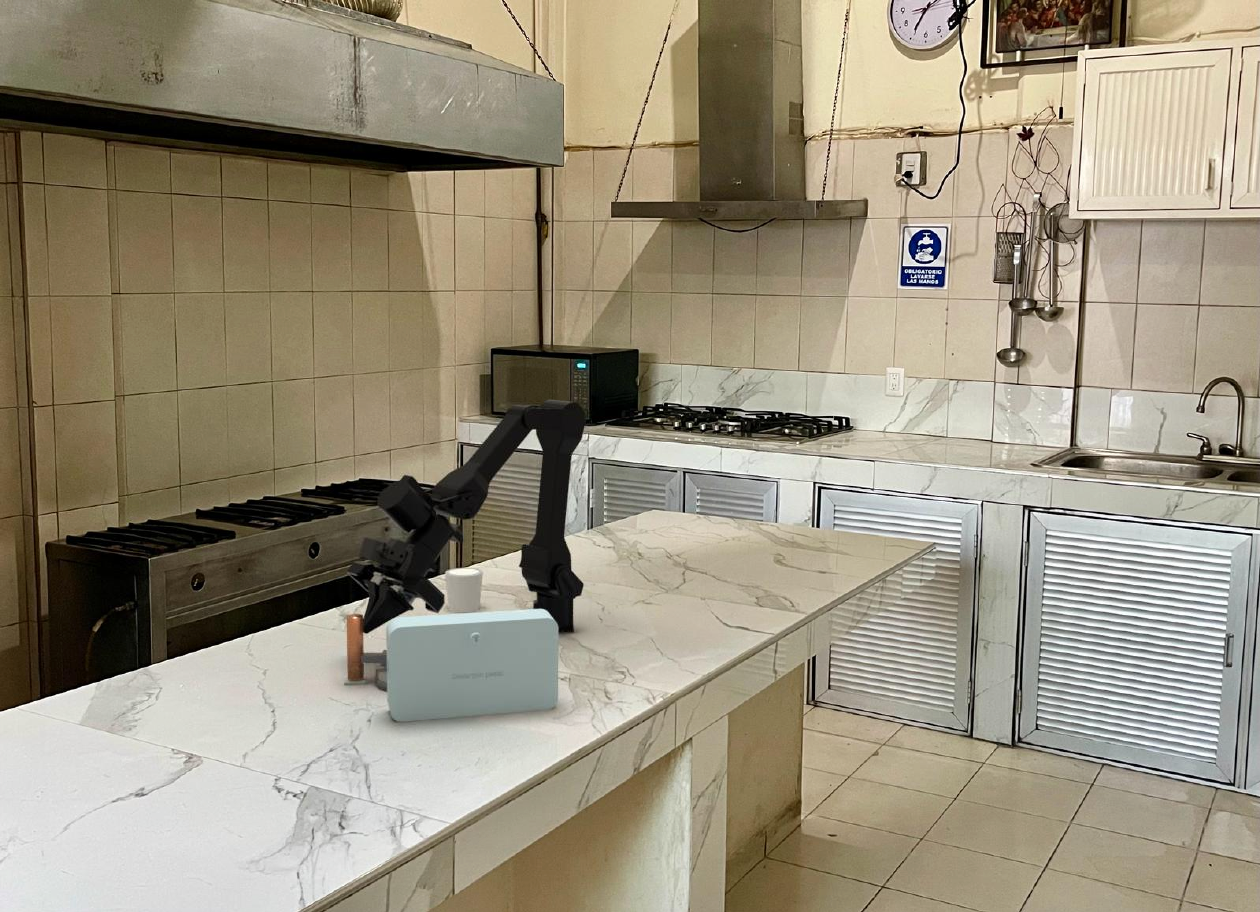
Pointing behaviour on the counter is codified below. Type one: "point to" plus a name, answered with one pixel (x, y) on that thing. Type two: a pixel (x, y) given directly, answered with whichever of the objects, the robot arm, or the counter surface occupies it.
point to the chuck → (381, 676)
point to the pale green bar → (354, 682)
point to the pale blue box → (471, 664)
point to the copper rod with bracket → (359, 649)
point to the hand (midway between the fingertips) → (363, 631)
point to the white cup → (464, 589)
